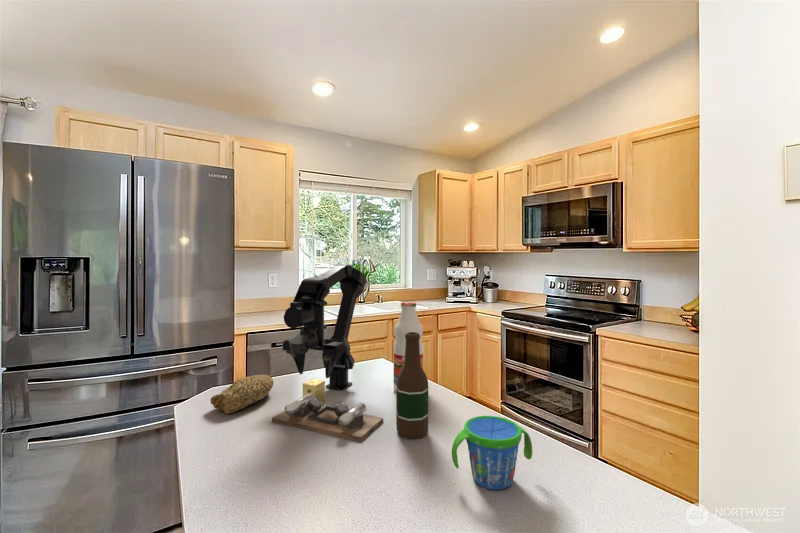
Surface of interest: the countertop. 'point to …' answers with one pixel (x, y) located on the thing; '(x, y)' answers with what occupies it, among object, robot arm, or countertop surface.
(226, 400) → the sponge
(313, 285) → the robot arm
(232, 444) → the countertop surface
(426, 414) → the beer bottle
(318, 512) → the countertop surface
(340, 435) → the padlock latch board
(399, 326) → the fruit juice
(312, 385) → the block
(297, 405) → the shafts
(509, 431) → the snack cup
